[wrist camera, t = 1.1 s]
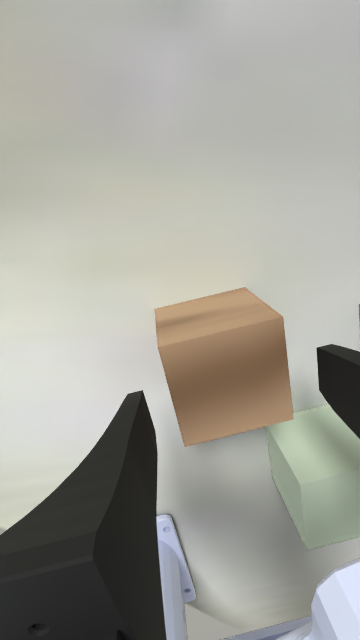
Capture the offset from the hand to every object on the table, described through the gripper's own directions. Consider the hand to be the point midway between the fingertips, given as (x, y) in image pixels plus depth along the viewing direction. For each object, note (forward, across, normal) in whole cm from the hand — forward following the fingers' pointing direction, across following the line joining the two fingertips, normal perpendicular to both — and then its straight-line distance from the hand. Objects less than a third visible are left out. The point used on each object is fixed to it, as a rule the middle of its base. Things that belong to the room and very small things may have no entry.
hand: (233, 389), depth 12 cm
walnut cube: (+5, 0, 0) cm, 5 cm away
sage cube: (+5, -5, +9) cm, 12 cm away
